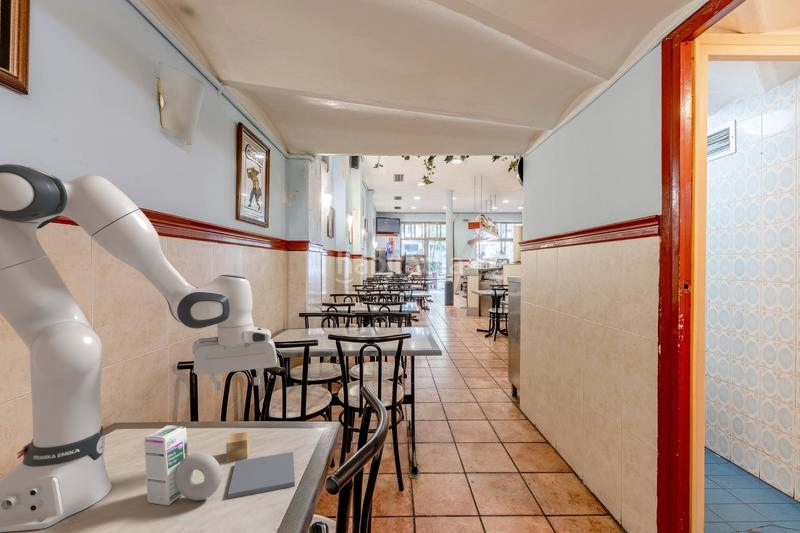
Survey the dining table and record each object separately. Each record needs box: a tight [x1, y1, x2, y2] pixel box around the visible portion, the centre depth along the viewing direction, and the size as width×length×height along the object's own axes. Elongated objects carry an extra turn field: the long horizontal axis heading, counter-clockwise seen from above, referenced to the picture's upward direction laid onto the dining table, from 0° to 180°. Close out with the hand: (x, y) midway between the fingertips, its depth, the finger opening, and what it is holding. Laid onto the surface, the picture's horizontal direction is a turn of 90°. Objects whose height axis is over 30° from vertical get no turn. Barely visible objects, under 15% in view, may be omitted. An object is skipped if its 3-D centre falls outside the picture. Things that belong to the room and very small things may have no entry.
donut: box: [175, 451, 223, 501], centre depth 80 cm, size 10×4×10 cm, turn 86°
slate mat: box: [227, 451, 296, 499], centre depth 89 cm, size 14×14×1 cm
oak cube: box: [225, 431, 250, 462], centre depth 98 cm, size 5×5×5 cm
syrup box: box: [143, 425, 189, 507], centre depth 81 cm, size 6×6×14 cm
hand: (238, 386), depth 98 cm, fingers open, 8 cm apart
